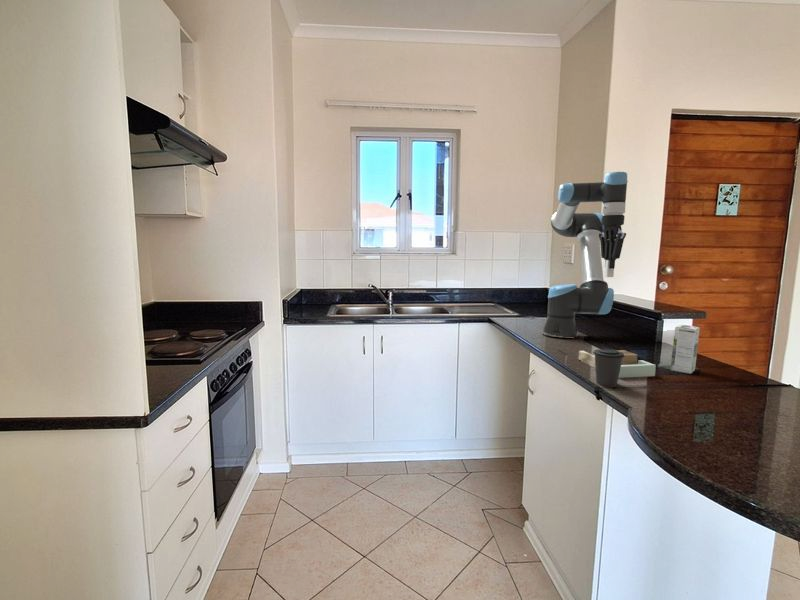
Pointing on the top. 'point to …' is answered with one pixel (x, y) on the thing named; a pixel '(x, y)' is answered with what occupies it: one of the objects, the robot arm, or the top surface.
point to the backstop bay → (637, 370)
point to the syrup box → (685, 348)
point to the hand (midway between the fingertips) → (608, 276)
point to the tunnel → (587, 358)
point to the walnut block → (628, 358)
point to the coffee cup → (607, 366)
